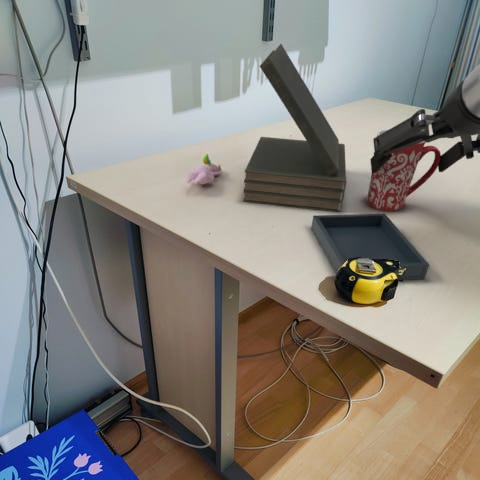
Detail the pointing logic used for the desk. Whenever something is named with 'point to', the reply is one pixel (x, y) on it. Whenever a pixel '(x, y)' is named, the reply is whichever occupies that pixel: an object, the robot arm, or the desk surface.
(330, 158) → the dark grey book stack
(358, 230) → the tray
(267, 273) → the desk surface
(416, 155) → the mug
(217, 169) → the pink toy figure
